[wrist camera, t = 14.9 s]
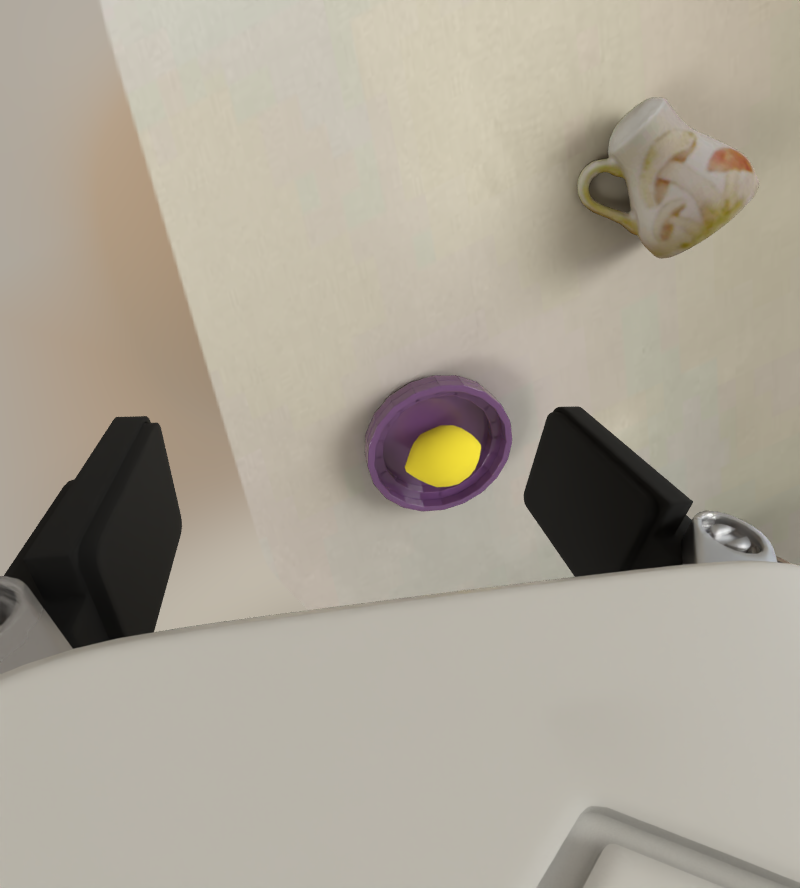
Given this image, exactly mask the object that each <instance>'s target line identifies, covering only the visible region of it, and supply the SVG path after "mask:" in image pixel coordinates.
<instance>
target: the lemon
mask: <svg viewBox="0 0 800 888" xmlns="http://www.w3.org/2000/svg"><path fill="white" fill-rule="evenodd" d="M480 451H481V444H480V443H479V441H478V440H477V439H476V438H475V437H474V436H473V435H472V434H470V433H469V432H467V431H465V430H464V429H462V428H460V427H457V426H454V425H440V426H438V427H435V428H433V429H431V430H429V431H426V432H424V433H422V434H420V435H419V437H418V438H417V439H416V441H415V442H414V443H413V445H412V448H411V450H410V453H409V456H408V459H407V462H406V465H405V470H406V472H407V473H409V474H410V475H412V476H413V477H415V478H417V479H418V480H420V481H422V482H425V483H427V484H429V485H432V486H435V487H449V486H453V485H457V484H460V483H461V482H462V481H464V480H465V479H466V478H468V477H469V476H470V475H471V474H472V472H473V471H474V470H475V468H476V466H477V463H478V461H479V457H480Z"/></svg>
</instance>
